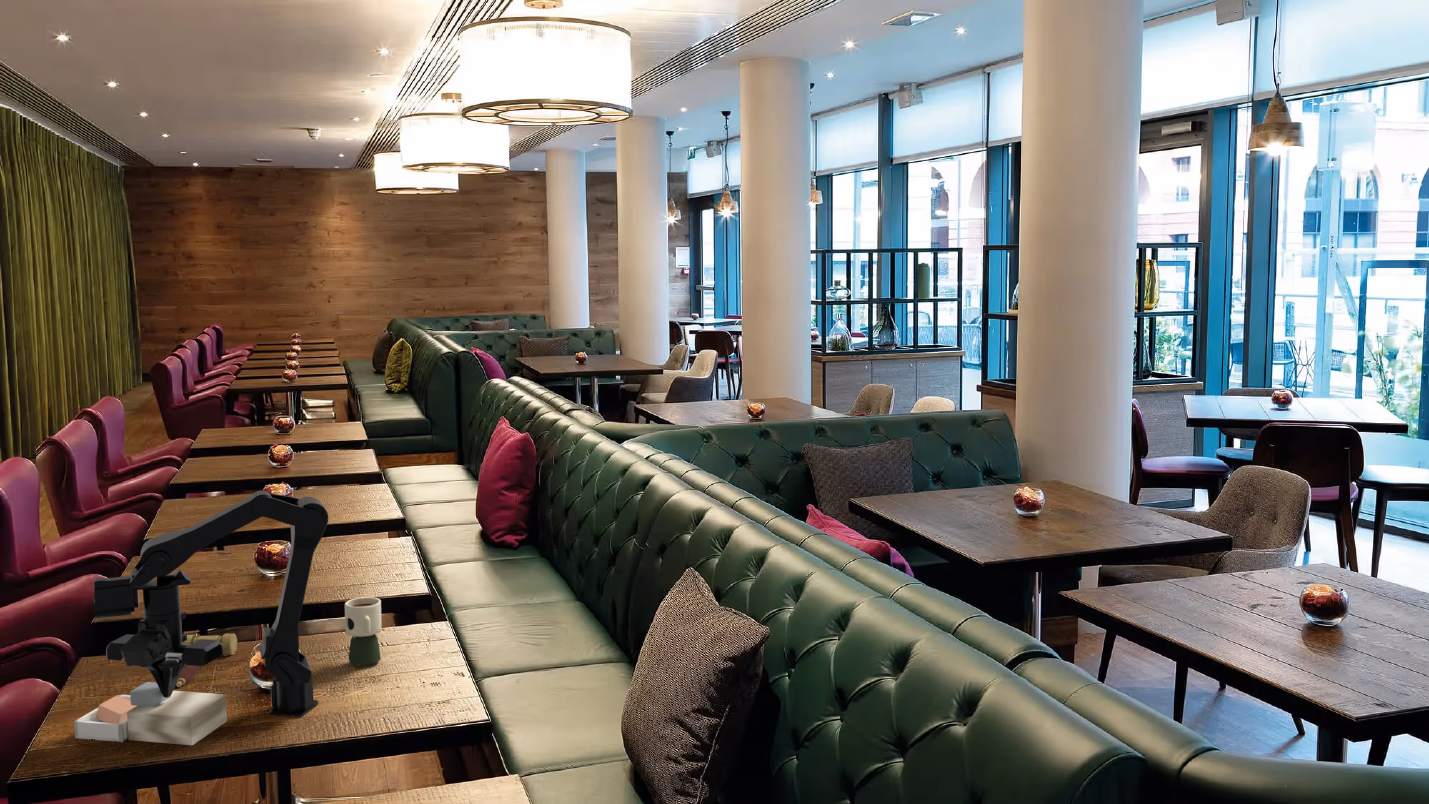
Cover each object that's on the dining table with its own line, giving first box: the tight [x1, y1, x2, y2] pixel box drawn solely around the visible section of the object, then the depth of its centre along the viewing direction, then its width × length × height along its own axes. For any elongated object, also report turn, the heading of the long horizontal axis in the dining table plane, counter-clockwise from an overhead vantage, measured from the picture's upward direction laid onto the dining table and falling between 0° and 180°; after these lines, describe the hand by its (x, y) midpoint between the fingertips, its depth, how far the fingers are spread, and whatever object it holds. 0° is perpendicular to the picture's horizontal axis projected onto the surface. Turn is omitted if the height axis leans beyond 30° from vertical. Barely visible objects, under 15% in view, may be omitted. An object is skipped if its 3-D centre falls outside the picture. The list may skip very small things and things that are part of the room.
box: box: [73, 694, 131, 743], centre depth 196 cm, size 9×12×3 cm
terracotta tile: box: [96, 694, 137, 724], centre depth 197 cm, size 4×4×2 cm
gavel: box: [175, 633, 238, 688], centre depth 223 cm, size 21×5×10 cm
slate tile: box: [129, 681, 171, 707], centre depth 194 cm, size 4×4×2 cm
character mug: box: [344, 596, 382, 667], centre depth 226 cm, size 11×7×13 cm, turn 27°
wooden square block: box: [127, 690, 228, 746], centre depth 194 cm, size 12×10×5 cm
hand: (167, 696), depth 194 cm, fingers closed
